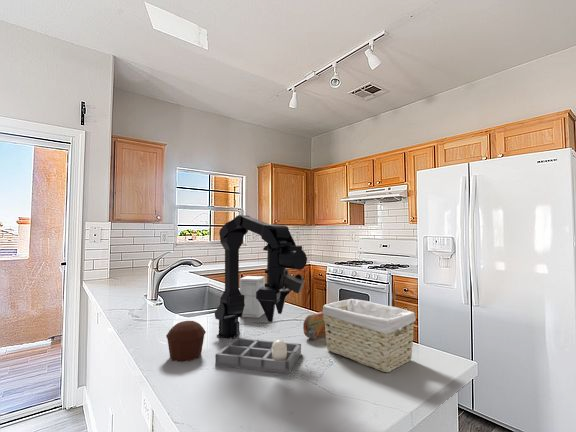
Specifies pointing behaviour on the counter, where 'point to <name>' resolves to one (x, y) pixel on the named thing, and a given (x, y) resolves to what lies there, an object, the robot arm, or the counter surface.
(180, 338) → the muffin
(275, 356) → the egg
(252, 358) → the grey compartment tray
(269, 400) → the counter surface
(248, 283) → the supplement box
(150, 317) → the counter surface
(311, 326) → the tin
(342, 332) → the storage basket
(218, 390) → the counter surface
